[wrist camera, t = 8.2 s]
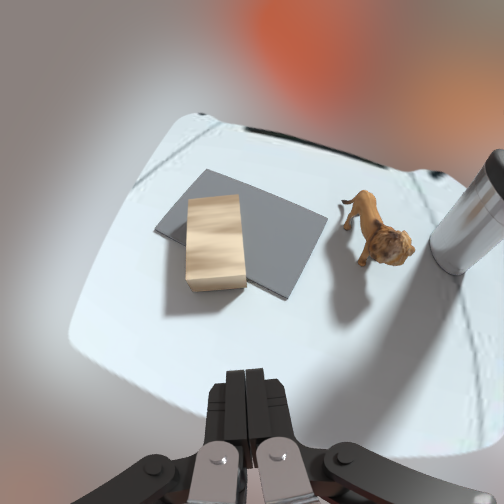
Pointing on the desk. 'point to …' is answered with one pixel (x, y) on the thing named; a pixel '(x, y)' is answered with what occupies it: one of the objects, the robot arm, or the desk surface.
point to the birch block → (215, 244)
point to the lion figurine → (378, 233)
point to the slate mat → (257, 230)
